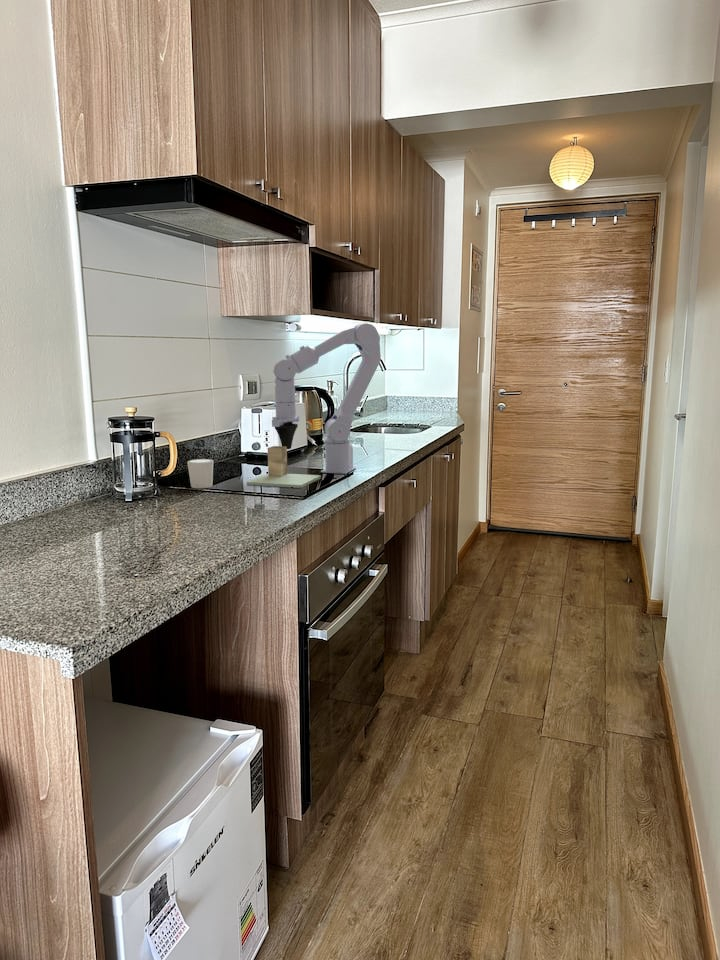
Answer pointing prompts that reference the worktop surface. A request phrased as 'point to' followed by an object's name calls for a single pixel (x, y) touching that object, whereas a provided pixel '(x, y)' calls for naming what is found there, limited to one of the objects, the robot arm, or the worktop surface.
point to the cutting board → (285, 480)
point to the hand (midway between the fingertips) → (286, 448)
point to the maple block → (277, 461)
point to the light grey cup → (201, 473)
